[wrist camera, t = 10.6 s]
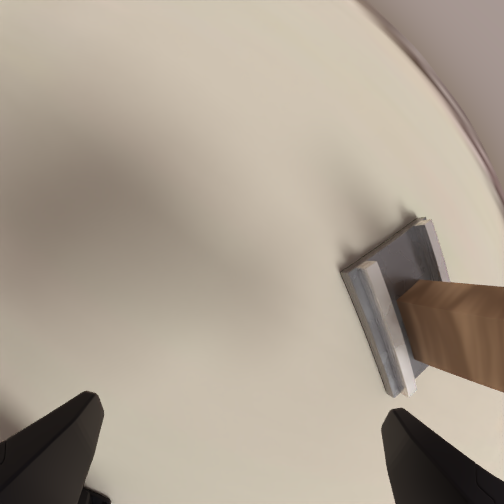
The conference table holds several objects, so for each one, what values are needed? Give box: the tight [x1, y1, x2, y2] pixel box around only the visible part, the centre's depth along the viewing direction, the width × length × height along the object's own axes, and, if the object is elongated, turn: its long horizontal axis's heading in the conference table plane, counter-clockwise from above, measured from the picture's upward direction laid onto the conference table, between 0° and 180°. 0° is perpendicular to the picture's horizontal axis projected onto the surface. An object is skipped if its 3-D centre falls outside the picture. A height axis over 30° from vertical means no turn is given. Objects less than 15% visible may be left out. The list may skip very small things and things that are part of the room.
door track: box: [340, 217, 450, 398], centre depth 20 cm, size 12×9×2 cm
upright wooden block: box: [396, 280, 504, 392], centre depth 15 cm, size 4×6×12 cm, turn 28°
